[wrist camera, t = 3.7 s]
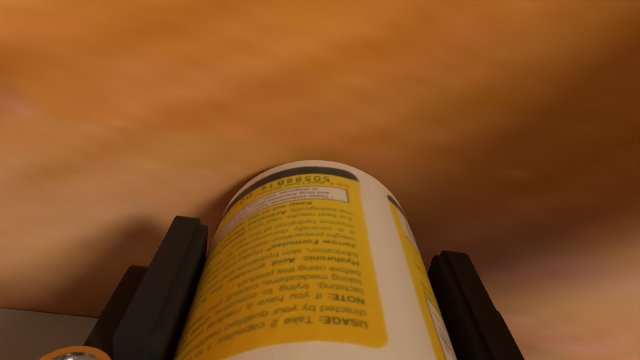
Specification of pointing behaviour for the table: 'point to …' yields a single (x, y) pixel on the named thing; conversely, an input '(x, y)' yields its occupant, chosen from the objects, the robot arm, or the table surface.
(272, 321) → the supplement bottle
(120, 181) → the table surface
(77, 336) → the socket board
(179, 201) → the table surface
